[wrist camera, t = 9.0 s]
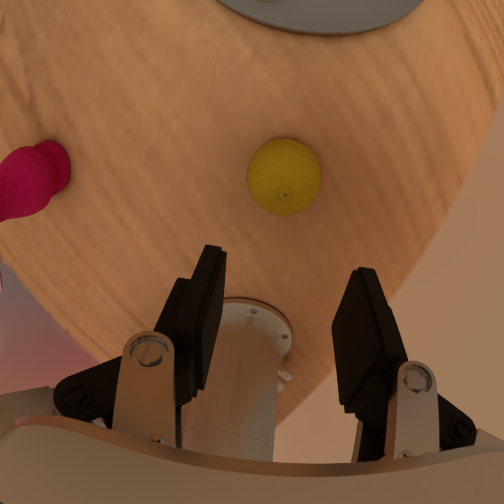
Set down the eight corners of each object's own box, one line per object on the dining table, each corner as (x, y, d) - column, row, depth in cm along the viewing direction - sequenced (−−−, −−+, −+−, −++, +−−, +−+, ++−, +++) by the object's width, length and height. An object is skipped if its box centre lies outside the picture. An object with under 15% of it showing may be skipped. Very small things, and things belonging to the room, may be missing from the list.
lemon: (277, 201, 27) (276, 247, 21) (239, 155, 25) (222, 186, 18) (327, 168, 25) (344, 204, 18) (290, 118, 23) (294, 134, 16)
